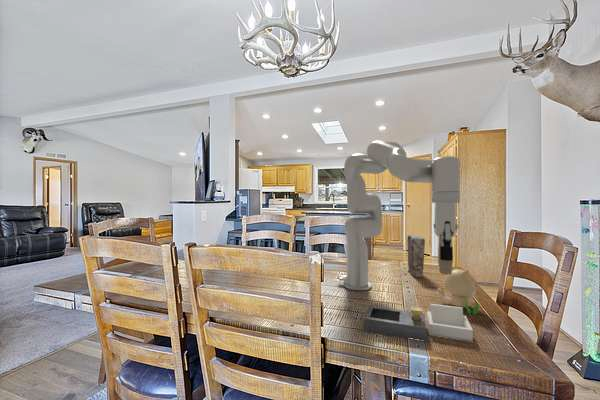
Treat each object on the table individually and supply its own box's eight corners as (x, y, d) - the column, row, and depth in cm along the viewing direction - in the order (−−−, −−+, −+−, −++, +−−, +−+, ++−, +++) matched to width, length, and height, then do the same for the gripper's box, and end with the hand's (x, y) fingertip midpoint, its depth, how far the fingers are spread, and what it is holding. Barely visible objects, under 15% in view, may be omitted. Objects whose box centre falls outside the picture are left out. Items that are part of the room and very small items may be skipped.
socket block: (364, 331, 84) (364, 318, 84) (368, 317, 94) (368, 305, 94) (426, 342, 78) (426, 328, 78) (424, 325, 88) (424, 313, 87)
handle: (459, 276, 81) (459, 225, 81) (435, 275, 82) (435, 224, 82) (454, 272, 86) (454, 223, 85) (432, 270, 87) (432, 223, 87)
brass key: (411, 333, 83) (411, 309, 83) (411, 328, 86) (411, 306, 85) (422, 334, 82) (422, 311, 82) (421, 330, 84) (421, 307, 84)
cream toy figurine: (489, 314, 96) (489, 271, 96) (464, 316, 95) (463, 272, 95) (458, 298, 111) (458, 261, 111) (436, 300, 109) (436, 262, 109)
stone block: (426, 277, 140) (426, 238, 140) (412, 277, 140) (412, 238, 140) (417, 270, 153) (417, 234, 153) (404, 270, 153) (404, 234, 153)
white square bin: (429, 335, 81) (429, 315, 81) (427, 321, 91) (427, 303, 91) (472, 342, 77) (472, 321, 77) (465, 327, 87) (465, 307, 87)
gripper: (430, 198, 93) (430, 252, 93) (433, 198, 77) (433, 263, 78) (455, 197, 90) (455, 254, 90) (464, 198, 75) (464, 266, 75)
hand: (445, 257), depth 84 cm, fingers closed on handle, 3 cm apart
